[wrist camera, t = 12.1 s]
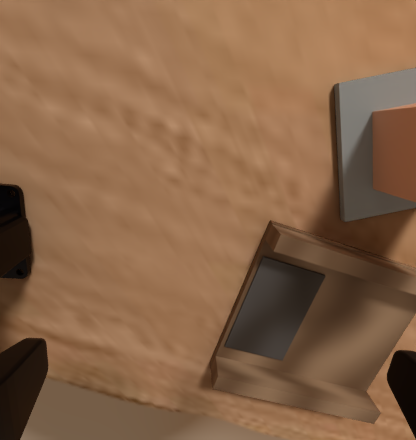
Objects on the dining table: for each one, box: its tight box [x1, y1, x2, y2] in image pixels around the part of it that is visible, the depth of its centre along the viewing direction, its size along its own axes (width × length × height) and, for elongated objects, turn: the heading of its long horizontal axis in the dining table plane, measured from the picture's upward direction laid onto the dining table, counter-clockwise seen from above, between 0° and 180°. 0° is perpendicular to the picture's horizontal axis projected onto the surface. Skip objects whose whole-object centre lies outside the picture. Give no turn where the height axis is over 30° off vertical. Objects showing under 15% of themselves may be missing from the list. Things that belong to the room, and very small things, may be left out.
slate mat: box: [334, 68, 416, 222], centre depth 19 cm, size 9×9×1 cm
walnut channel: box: [210, 221, 416, 424], centre depth 22 cm, size 14×13×3 cm
